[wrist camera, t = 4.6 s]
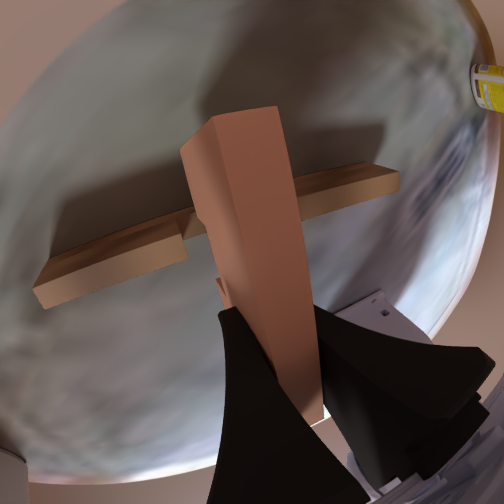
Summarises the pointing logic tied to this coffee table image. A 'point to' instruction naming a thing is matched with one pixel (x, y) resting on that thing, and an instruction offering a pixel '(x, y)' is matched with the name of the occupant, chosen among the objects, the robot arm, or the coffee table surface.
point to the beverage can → (13, 479)
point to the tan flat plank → (259, 242)
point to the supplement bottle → (488, 86)
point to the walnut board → (191, 234)
